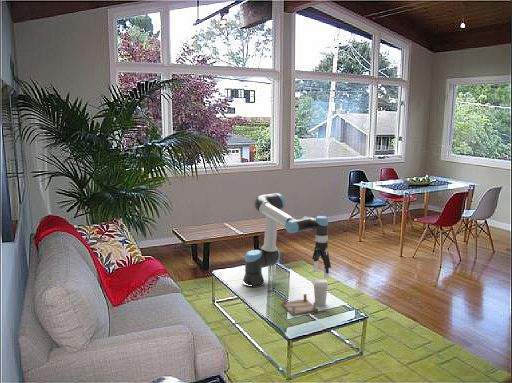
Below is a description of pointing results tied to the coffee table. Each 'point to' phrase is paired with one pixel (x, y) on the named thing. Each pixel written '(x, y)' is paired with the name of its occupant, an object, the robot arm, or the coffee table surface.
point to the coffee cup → (320, 291)
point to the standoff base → (299, 306)
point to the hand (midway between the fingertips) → (321, 274)
